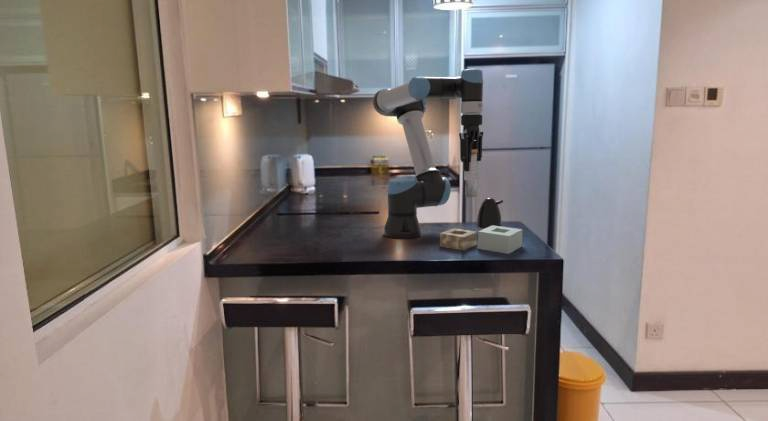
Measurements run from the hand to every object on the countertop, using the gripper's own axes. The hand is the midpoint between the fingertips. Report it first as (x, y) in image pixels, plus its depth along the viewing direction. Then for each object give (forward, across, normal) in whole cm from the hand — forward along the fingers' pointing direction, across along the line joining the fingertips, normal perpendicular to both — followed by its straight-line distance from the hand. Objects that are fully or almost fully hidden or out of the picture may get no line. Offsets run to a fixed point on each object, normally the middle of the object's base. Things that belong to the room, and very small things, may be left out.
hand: (471, 179), depth 187 cm
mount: (+25, -1, +5) cm, 26 cm away
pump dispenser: (+25, +21, +4) cm, 33 cm away
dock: (+25, +6, -9) cm, 28 cm away
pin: (+6, 0, 0) cm, 6 cm away
